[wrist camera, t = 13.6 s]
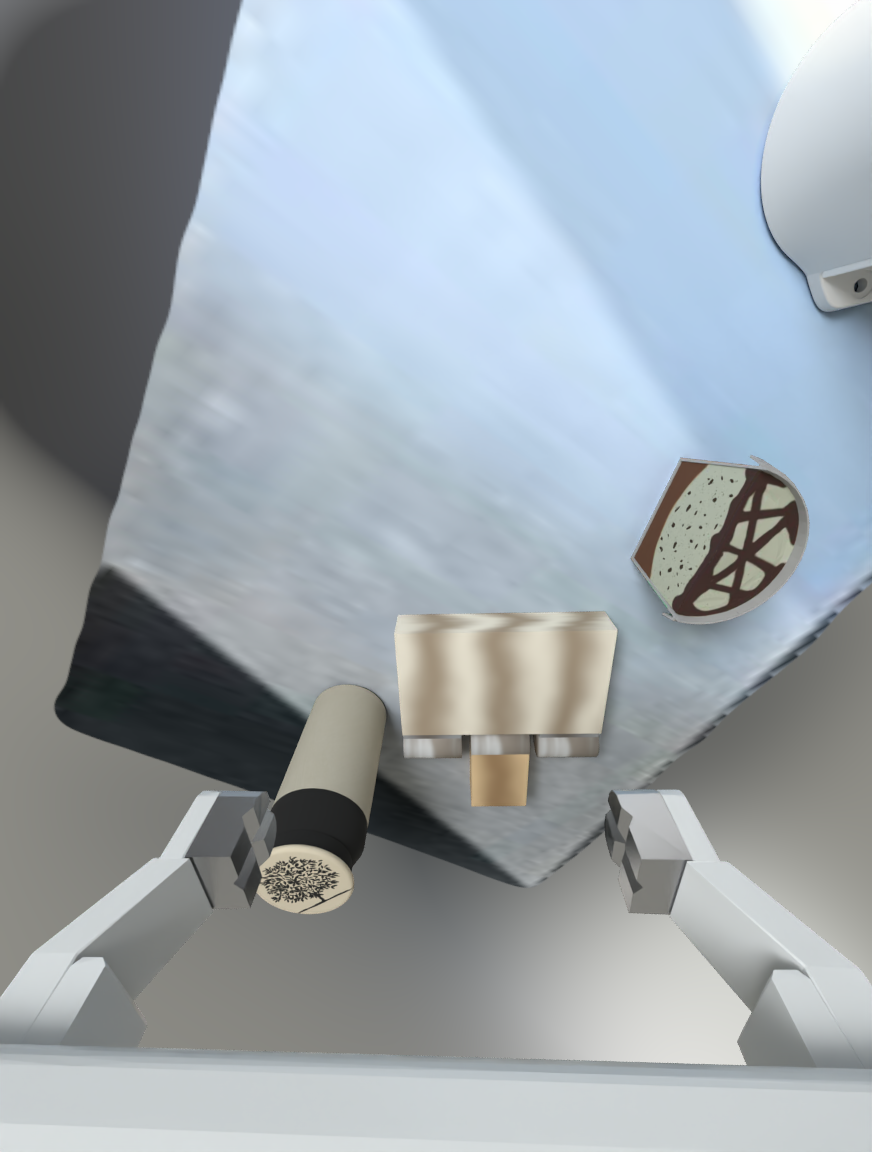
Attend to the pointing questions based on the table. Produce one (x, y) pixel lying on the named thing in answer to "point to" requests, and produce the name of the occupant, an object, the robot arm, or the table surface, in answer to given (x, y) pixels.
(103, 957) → the robot arm
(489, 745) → the tan rectangular block
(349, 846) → the travel mug
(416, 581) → the table surface
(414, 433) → the table surface
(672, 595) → the food container
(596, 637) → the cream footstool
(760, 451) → the table surface
